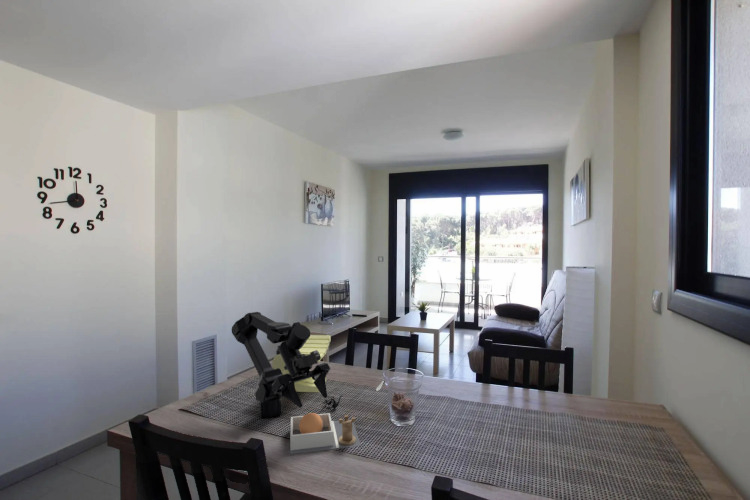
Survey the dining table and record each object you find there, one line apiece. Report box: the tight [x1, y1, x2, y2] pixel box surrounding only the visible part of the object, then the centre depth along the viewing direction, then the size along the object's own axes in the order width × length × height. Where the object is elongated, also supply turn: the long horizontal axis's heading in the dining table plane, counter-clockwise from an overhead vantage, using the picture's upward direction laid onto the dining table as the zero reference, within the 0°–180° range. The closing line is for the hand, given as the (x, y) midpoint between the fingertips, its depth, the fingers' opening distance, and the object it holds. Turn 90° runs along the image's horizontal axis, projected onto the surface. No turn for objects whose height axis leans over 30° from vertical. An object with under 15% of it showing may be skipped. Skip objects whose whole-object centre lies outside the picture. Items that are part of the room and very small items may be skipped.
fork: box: [375, 380, 385, 392], centre depth 158 cm, size 3×24×2 cm, turn 162°
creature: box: [320, 395, 344, 411], centre depth 133 cm, size 8×5×8 cm
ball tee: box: [338, 414, 356, 445], centre depth 109 cm, size 5×5×7 cm
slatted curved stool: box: [272, 334, 332, 393], centre depth 155 cm, size 30×16×18 cm, turn 174°
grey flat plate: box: [289, 418, 362, 455], centre depth 113 cm, size 20×17×1 cm
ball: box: [299, 412, 323, 434], centre depth 112 cm, size 7×7×7 cm
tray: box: [289, 412, 334, 451], centre depth 111 cm, size 12×12×4 cm
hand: (314, 402), depth 110 cm, fingers open, 9 cm apart
